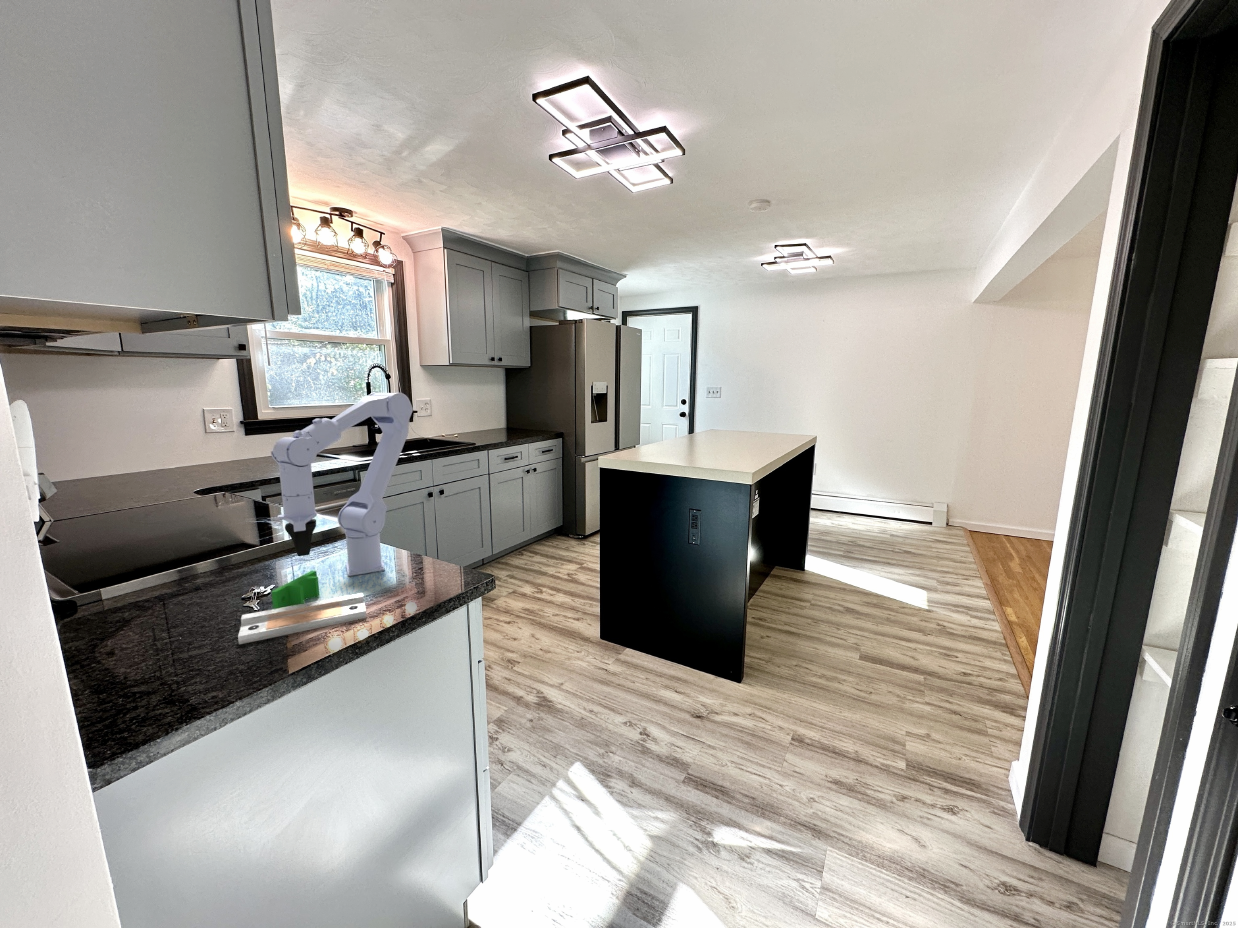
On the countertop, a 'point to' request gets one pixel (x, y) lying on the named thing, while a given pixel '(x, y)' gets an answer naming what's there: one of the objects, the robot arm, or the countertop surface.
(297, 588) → the green angular block
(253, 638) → the rail
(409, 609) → the countertop surface
